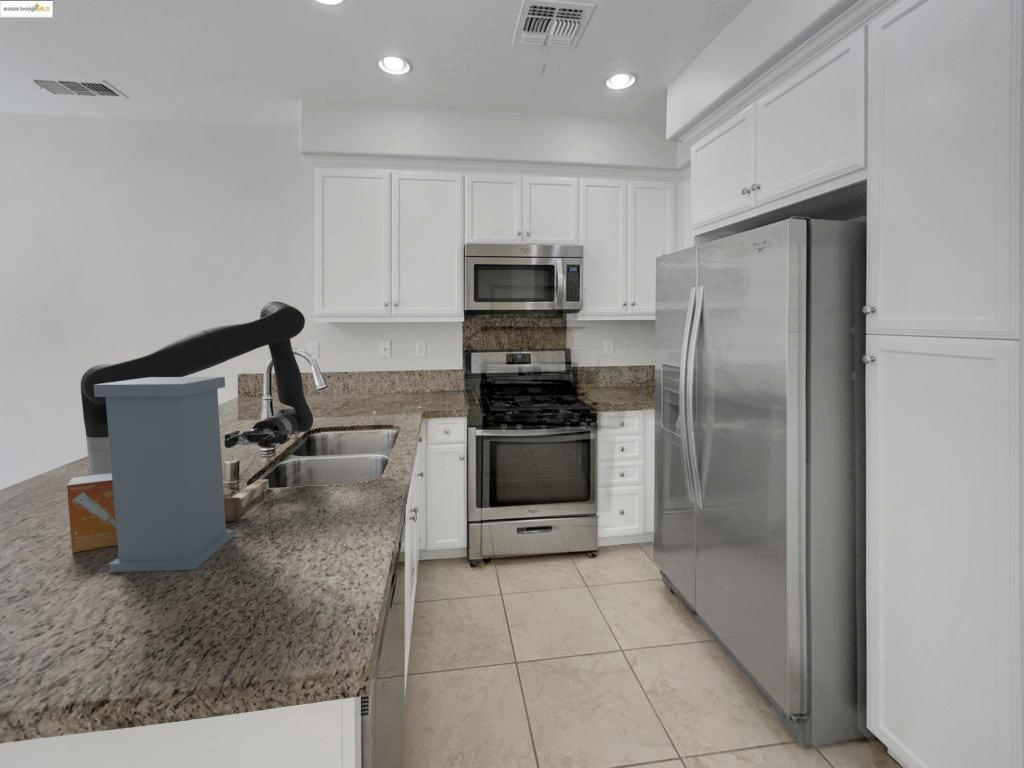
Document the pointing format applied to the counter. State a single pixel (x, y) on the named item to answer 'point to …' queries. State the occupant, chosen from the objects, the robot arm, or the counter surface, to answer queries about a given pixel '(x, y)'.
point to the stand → (165, 471)
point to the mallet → (243, 499)
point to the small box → (91, 512)
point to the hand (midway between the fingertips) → (245, 443)
